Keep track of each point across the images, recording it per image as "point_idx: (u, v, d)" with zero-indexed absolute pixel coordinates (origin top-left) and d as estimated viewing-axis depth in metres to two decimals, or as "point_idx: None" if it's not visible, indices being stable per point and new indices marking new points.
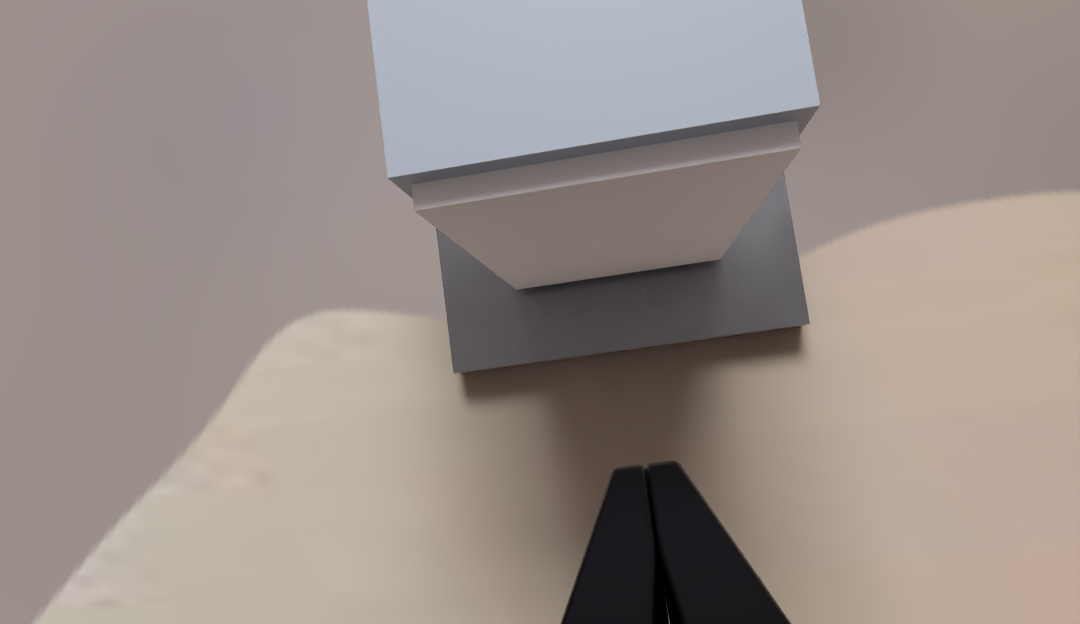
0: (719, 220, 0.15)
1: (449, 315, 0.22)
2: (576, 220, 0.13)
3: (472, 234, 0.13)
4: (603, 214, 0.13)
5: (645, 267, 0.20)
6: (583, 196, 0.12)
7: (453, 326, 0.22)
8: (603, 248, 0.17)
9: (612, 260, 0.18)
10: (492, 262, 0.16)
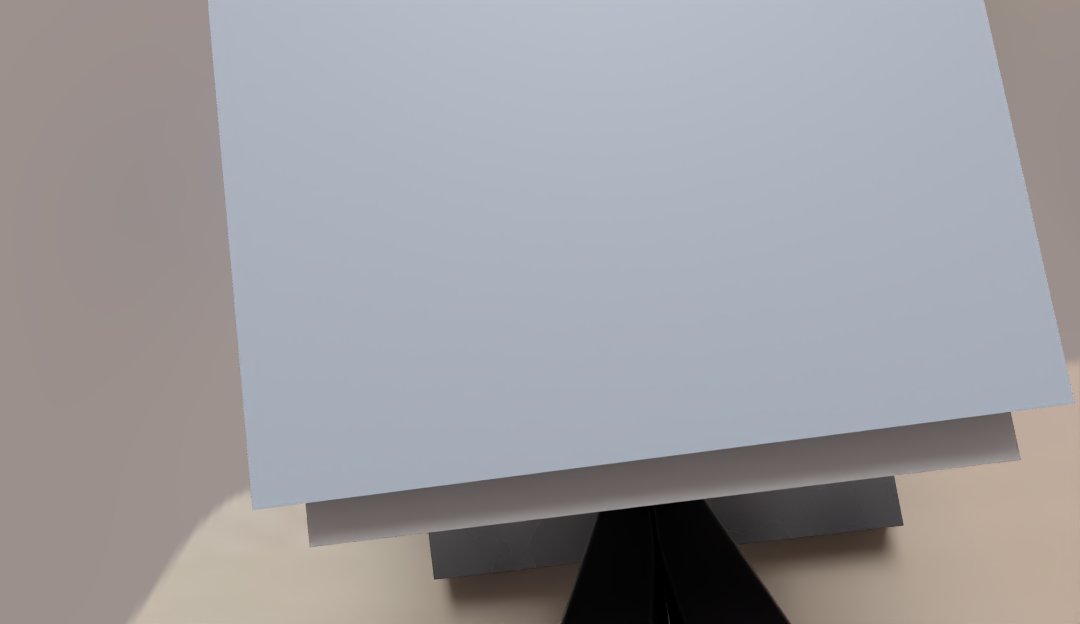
0: None
1: None
2: None
3: None
4: None
5: None
6: None
7: None
8: None
9: None
10: None
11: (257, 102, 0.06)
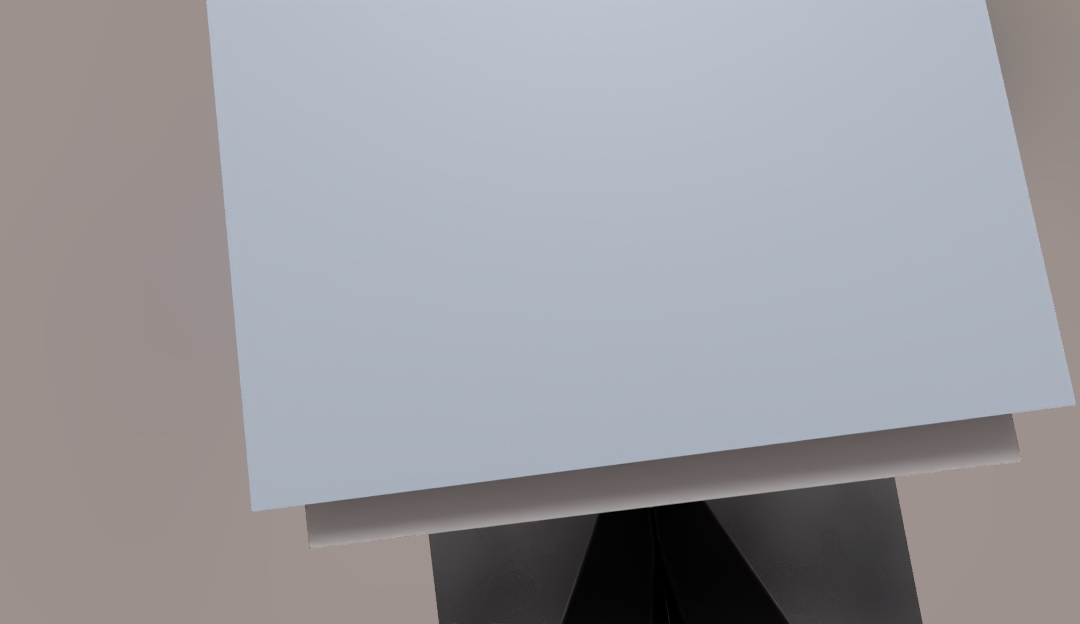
0: None
1: None
2: None
3: None
4: None
5: None
6: None
7: None
8: None
9: None
10: None
11: (255, 102, 0.06)
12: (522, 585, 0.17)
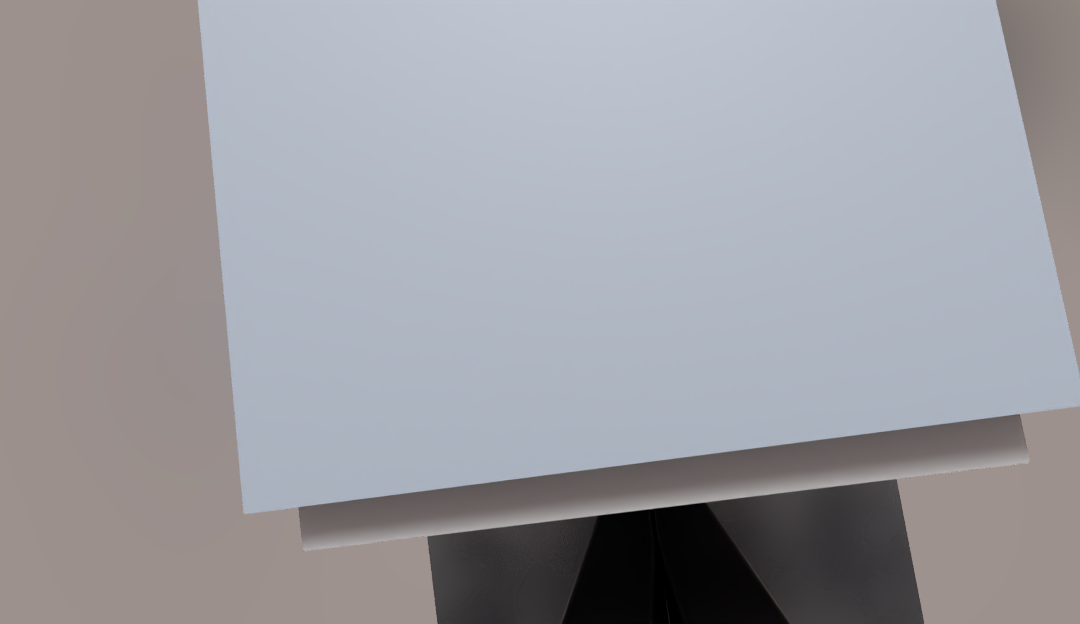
0: None
1: None
2: None
3: None
4: None
5: None
6: None
7: None
8: None
9: None
10: None
11: (247, 96, 0.06)
12: None
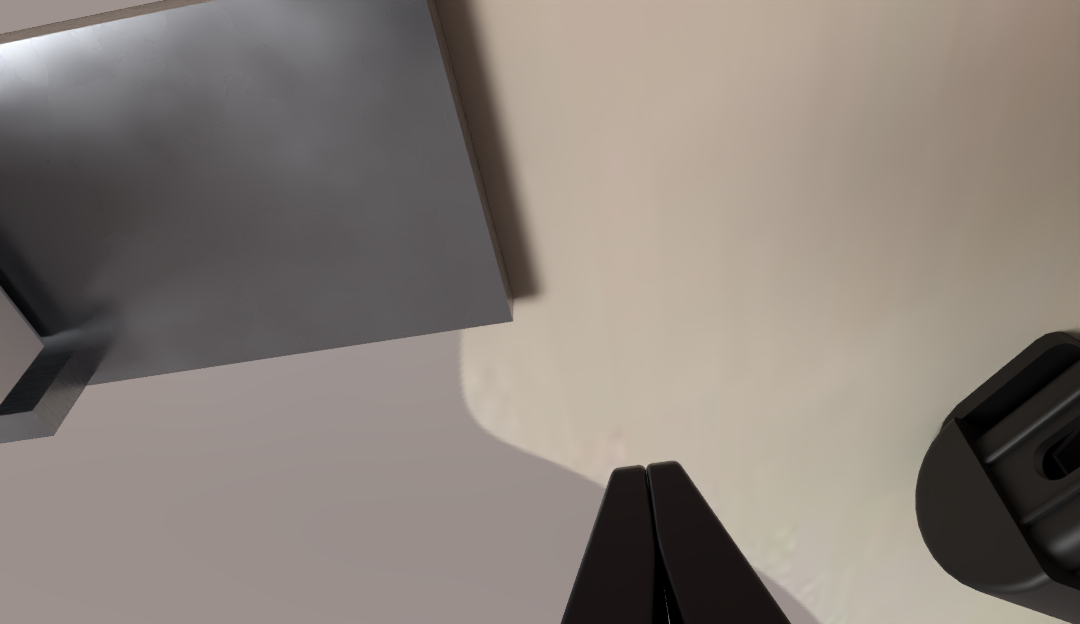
0: None
1: (456, 327, 0.22)
2: None
3: None
4: None
5: None
6: None
7: (467, 323, 0.22)
8: None
9: None
10: None
11: None
12: (272, 303, 0.22)
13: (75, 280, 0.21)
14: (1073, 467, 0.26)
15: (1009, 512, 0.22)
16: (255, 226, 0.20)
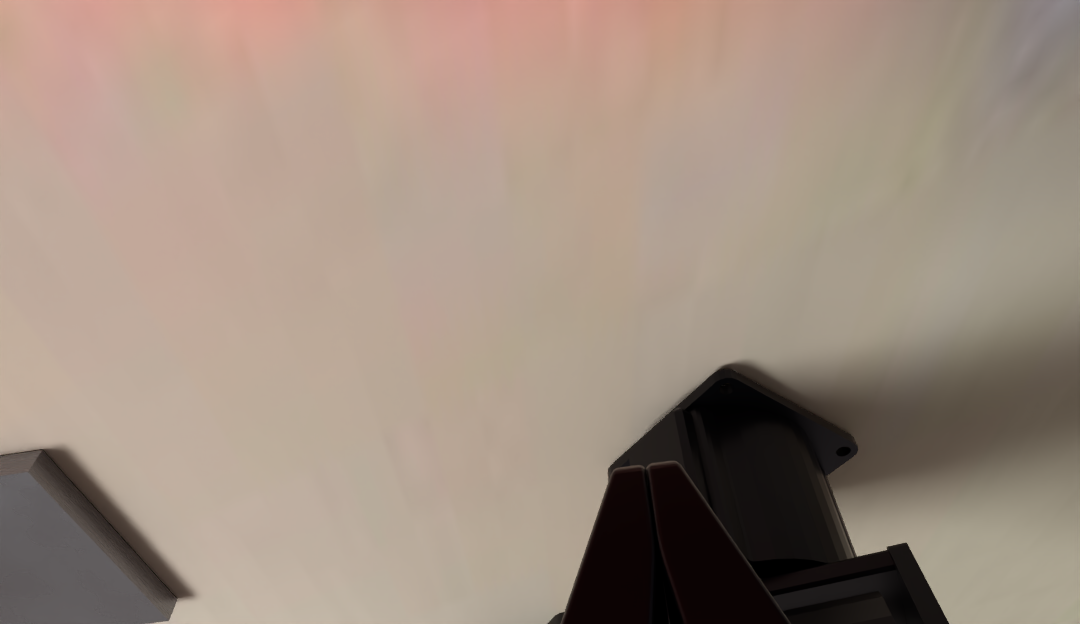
0: None
1: (132, 623, 0.33)
2: None
3: None
4: None
5: None
6: None
7: (138, 621, 0.33)
8: None
9: None
10: None
11: None
12: (1, 613, 0.32)
13: None
14: None
15: None
16: None
